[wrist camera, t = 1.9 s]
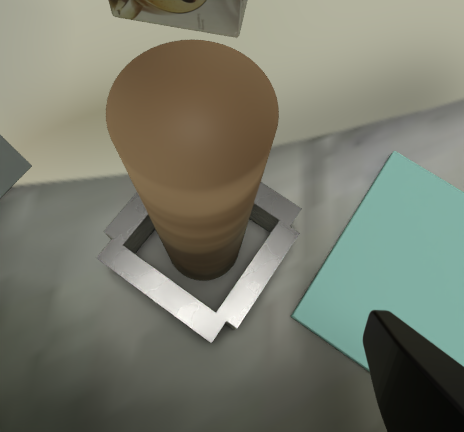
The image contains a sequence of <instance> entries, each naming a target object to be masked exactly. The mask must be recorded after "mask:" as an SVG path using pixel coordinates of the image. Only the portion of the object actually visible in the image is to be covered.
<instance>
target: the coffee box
mask: <svg viewBox="0 0 464 432" xmlns="http://www.w3.org/2000/svg"><path fill="white" fill-rule="evenodd" d="M246 3H247V0H109V4H110V7H111V11H112V14H113V16H115V17H119V18H125V19H131V20H136V21H142V22H149V23H154V24H160V25H166V26H171V27H177V28H183V29H189V30H195V31H202V32H207V33H213V34H219V35H224V36H231V37H238V36H239V34H240V30H241V25H242V21H243V17H244V12H245V8H246Z"/></svg>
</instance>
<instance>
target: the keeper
mask: <svg viewBox="0 0 464 432" xmlns="http://www.w3.org/2000/svg"><path fill="white" fill-rule="evenodd" d="M301 209H302V208H300V207H299V206H297V205H296V204H294V203H292V202H291V201H289V200H288V199H286V198H285V197H283V196H282V195H280V194H279V193H277V192H276V191H274V190H272V189H271V188H269V187H268V186H266V185H265V184H263V183H262V182H260V185H259V189H258V192H257V195H256V198H255V201H254V205H253V208H252V211H251V214H250V219H251V220H253V221H254V222H256V223H257V224H259V225H260V226H262V227H263V228H265V229H266V230H268V231H269V232H271V234H270V235H269V237H268V238H267V240H266V241H265V242H264V244H263V245H262V247H261V248H260V250H259V251H258V253H257V254H256V256H255V257H254V258H253V260H252V261H251V263H250V264H249V266H248V267H247V269H246V270H245V272H244V273H243V274H242V276H241V277H240V279H239V280H238V282H237V283H236V285H235V286H234V288H233V289H232V290H231V292H230V293H229V295H228V296H227V298H226V299H225V301H224V302H223V304H222V305H221V306H220V308H219V309H218V311H217V312H216V313H215V312H214V311H213V310H211V309H210V308H208V307H207V306H206V305H204V304H203V303H201V302H200V301H199V300H197V299H196V298H195V297H193V296H192V295H190V294H189V293H188V292H186V291H185V290H184V289H182V288H181V287H179V286H178V285H177V284H175V283H174V282H173V281H171V280H170V279H168V278H167V277H166V276H164V275H163V274H161V273H160V272H159V271H157V270H156V269H155V268H153V267H152V266H150V265H149V264H148V263H146V262H145V261H144V260H142V259H141V258H139V257H138V256H137V255H135V253H136V251H137V250H138V249H139V248H140V246H141V245H142V244H143V243H144V241H145V240H146V239H147V238H148V237H149V235H150V234H151V233H152V232H153V230H154V229H155V227H154V225H153V223H152V221H151V219H150V217H149V215H148V213H147V210H146V208H145V206H144V204H143V202H142V200H141V198H140V196H139V194H138V192H137V193H136V194H135V195H134V196H133V197H132V198H131V200H130V201H129V202H128V203H127V204H126V206H125V207H124V208H123V209H122V210H121V211H120V213H119V214H118V215H117V216H116V217H115V218H114V220H113V221H112V222H111V223H110V224H109V225H108V227H107V228H106V229H105V230H104V231H103V232H104V233H105V234H106V235H107V236H108V237H109V238H110V239H111V241H110V242H109V243H108V245H107V246H106V247H105V248H104V249H103V251H102V252H101V253H100V254H99V255H98V256H97V259H98V260H100V261H101V262H103V263H104V264H105V265H107V266H108V267H109V268H111V269H112V270H113V271H115V272H116V273H117V274H119V275H120V276H121V277H123V278H124V279H125V280H127V281H128V282H130V283H131V284H132V285H134V286H135V287H136V288H138V289H139V290H140V291H142V292H143V293H144V294H146V295H147V296H148V297H150V298H151V299H153V300H154V301H155V302H157V303H158V304H159V305H161V306H162V307H163V308H165V309H166V310H167V311H169V312H170V313H171V314H173V315H174V316H175V317H177V318H178V319H180V320H181V321H182V322H184V323H185V324H186V325H188V326H189V327H190V328H192V329H193V330H194V331H196V332H197V333H198V334H200V335H201V336H203V337H204V338H205V339H207V340H208V341H209V342H211V343H212V341H213V340H214V338H215V337H216V335H217V334H218V333H219V331H220V330H221V328H222V327H223V325H224V324H227V325H228V326H229V327H231V328H232V329H233V330H235V329H237V328H238V326H239V325H240V323H241V322H242V320H243V319H244V317H245V316H246V314H247V313H248V311H249V310H250V308H251V307H252V305H253V304H254V302H255V301H256V299H257V297H258V296H259V294H260V293H261V291H262V290H263V288H264V287H265V285H266V284H267V282H268V281H269V279H270V278H271V276H272V275H273V273H274V272H275V270H276V269H277V267H278V266H279V264H280V263H281V261H282V260H283V258H284V257H285V255H286V253H287V252H288V250H289V249H290V247H291V246H292V244H293V243H294V241H295V240H296V238H297V237H298V235H299V234H300V233H298V232H297V231H295V230H294V229H292V228H291V227H290V226H291V224H292V223H293V221H294V220H295V218H296V217H297V215H298V214H299V212H300V211H301Z"/></svg>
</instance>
